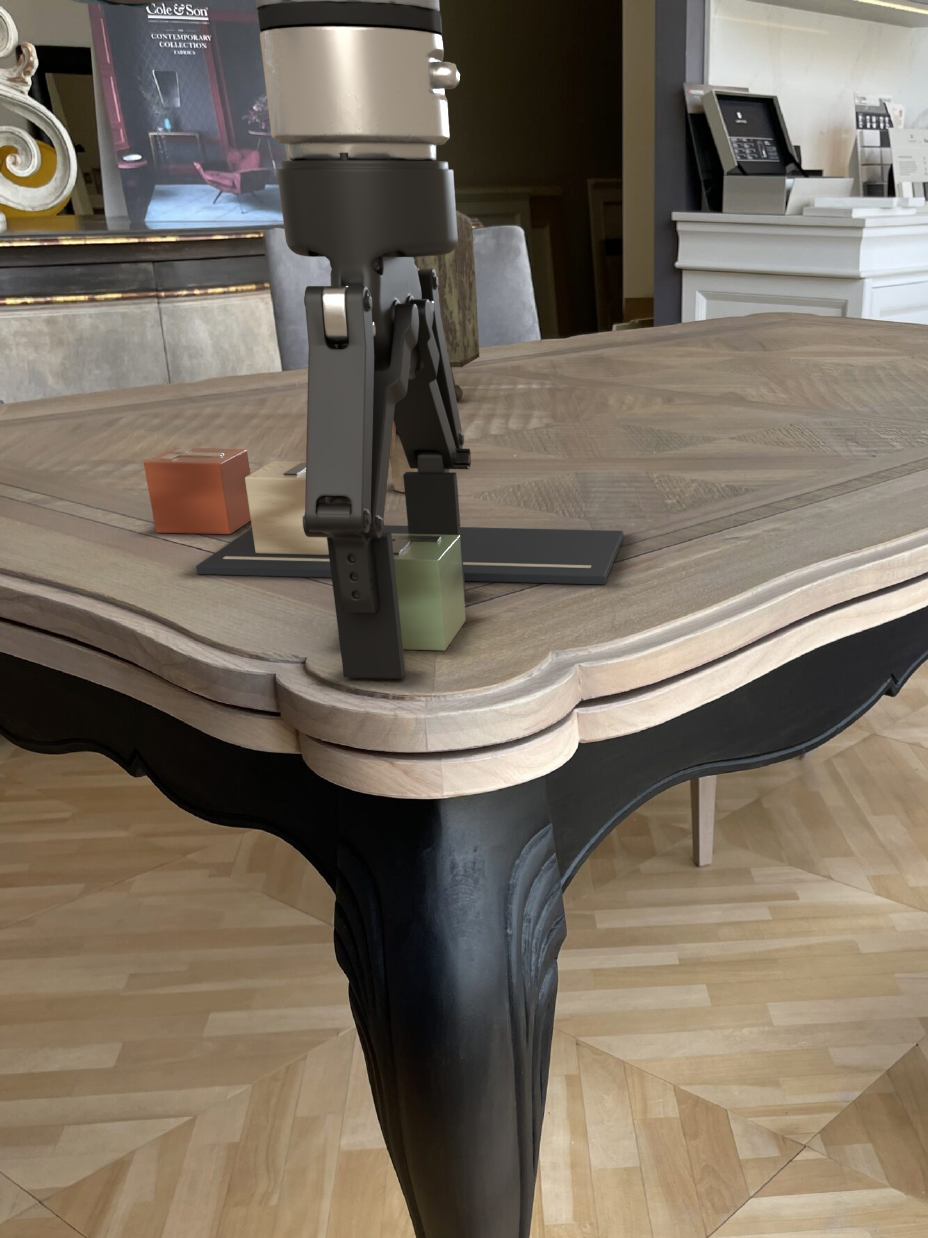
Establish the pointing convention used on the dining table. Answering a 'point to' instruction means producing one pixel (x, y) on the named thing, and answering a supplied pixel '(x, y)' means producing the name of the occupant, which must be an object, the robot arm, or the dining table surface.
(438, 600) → the frosted jade cube
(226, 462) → the copper orange cube
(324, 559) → the word mat
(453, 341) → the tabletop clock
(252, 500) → the slotted beige cube
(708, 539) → the dining table surface
